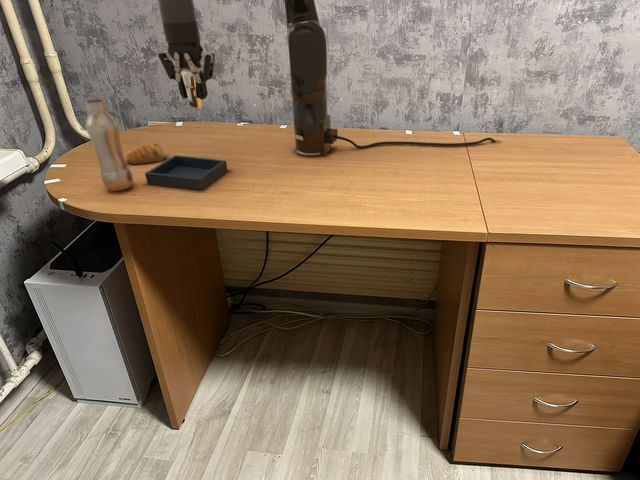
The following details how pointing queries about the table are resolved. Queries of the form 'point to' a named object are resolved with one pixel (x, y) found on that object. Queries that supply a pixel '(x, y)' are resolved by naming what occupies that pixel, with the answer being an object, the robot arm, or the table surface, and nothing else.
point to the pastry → (146, 154)
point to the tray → (187, 172)
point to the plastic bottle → (107, 146)
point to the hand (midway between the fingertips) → (194, 97)
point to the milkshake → (191, 88)
